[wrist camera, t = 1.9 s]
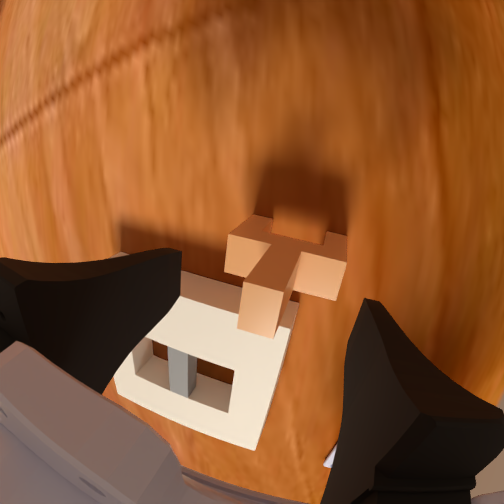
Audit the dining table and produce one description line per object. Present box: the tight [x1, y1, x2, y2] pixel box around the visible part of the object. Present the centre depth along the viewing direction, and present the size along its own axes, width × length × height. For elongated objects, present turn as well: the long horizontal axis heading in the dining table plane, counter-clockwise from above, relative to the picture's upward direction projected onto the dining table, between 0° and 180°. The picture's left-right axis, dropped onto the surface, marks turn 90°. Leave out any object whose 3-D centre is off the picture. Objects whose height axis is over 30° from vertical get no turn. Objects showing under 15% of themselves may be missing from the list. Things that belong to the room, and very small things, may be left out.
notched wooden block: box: [224, 214, 347, 339], centre depth 14 cm, size 6×2×8 cm, turn 82°
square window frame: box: [108, 252, 299, 451], centre depth 22 cm, size 14×14×3 cm
